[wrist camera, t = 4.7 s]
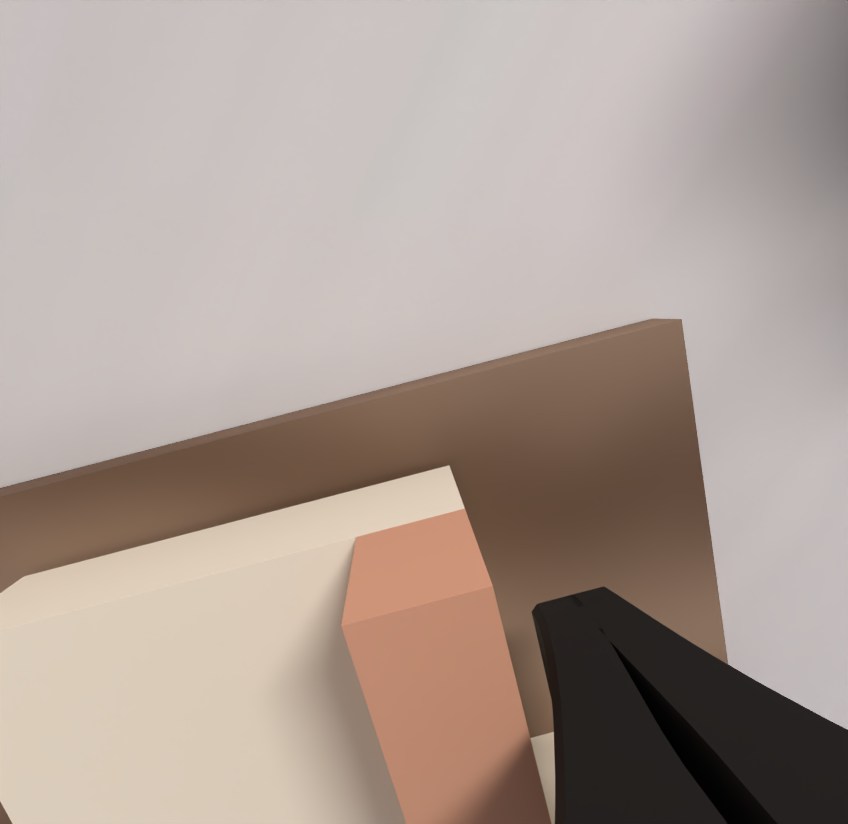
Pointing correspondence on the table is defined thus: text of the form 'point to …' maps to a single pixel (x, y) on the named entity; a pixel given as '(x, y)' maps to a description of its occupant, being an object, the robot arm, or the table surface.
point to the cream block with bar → (271, 675)
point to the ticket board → (475, 478)
